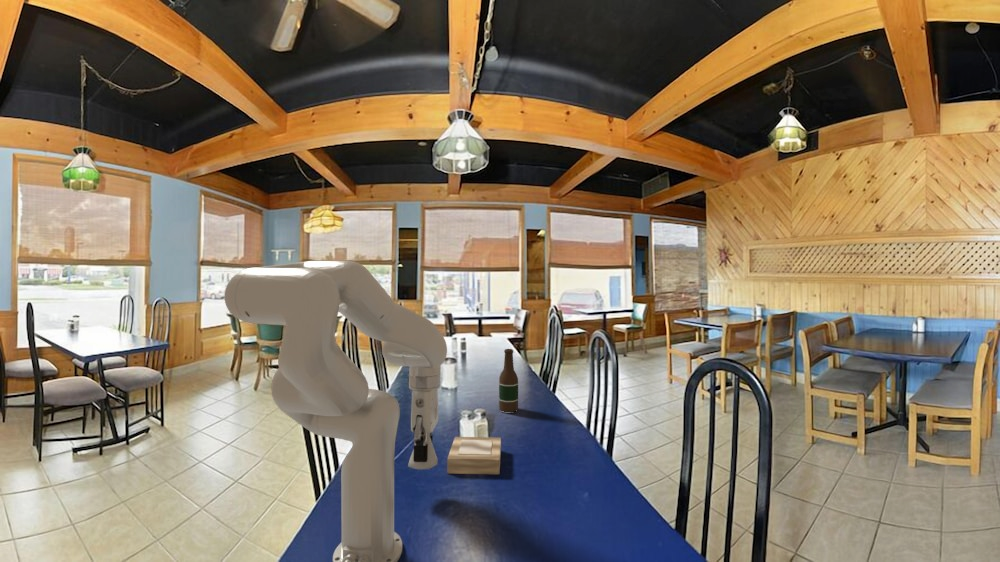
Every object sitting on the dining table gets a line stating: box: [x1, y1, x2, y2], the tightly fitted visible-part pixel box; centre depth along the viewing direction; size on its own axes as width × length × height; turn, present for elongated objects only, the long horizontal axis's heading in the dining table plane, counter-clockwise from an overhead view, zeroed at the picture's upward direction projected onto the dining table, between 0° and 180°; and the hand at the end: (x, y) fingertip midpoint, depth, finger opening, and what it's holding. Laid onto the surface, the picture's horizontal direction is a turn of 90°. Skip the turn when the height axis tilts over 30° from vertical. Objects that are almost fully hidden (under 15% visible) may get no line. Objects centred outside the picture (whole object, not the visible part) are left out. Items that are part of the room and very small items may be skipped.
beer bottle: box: [498, 348, 519, 412], centre depth 154 cm, size 8×8×24 cm
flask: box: [407, 429, 439, 470], centre depth 96 cm, size 7×7×10 cm
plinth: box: [446, 436, 502, 475], centre depth 112 cm, size 14×14×4 cm
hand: (423, 455), depth 96 cm, fingers closed on flask, 4 cm apart
